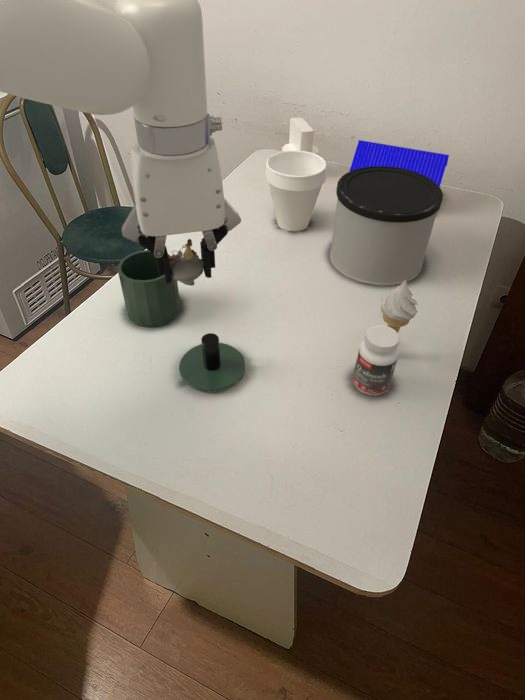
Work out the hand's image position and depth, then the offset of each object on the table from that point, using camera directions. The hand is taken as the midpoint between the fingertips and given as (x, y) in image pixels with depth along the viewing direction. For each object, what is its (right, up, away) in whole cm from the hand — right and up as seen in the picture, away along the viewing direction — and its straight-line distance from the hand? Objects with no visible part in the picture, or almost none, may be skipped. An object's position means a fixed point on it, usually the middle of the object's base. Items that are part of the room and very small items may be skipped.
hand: (187, 273), depth 67 cm
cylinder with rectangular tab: (+19, +35, +64) cm, 75 cm away
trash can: (-9, -3, +24) cm, 26 cm away
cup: (+16, +18, +46) cm, 52 cm away
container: (+33, +8, +37) cm, 50 cm away
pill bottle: (+26, -15, +12) cm, 33 cm away
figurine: (0, -1, +1) cm, 1 cm away
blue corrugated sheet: (+41, +27, +55) cm, 74 cm away
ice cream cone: (+30, -11, +17) cm, 36 cm away
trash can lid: (+2, -13, +14) cm, 19 cm away
